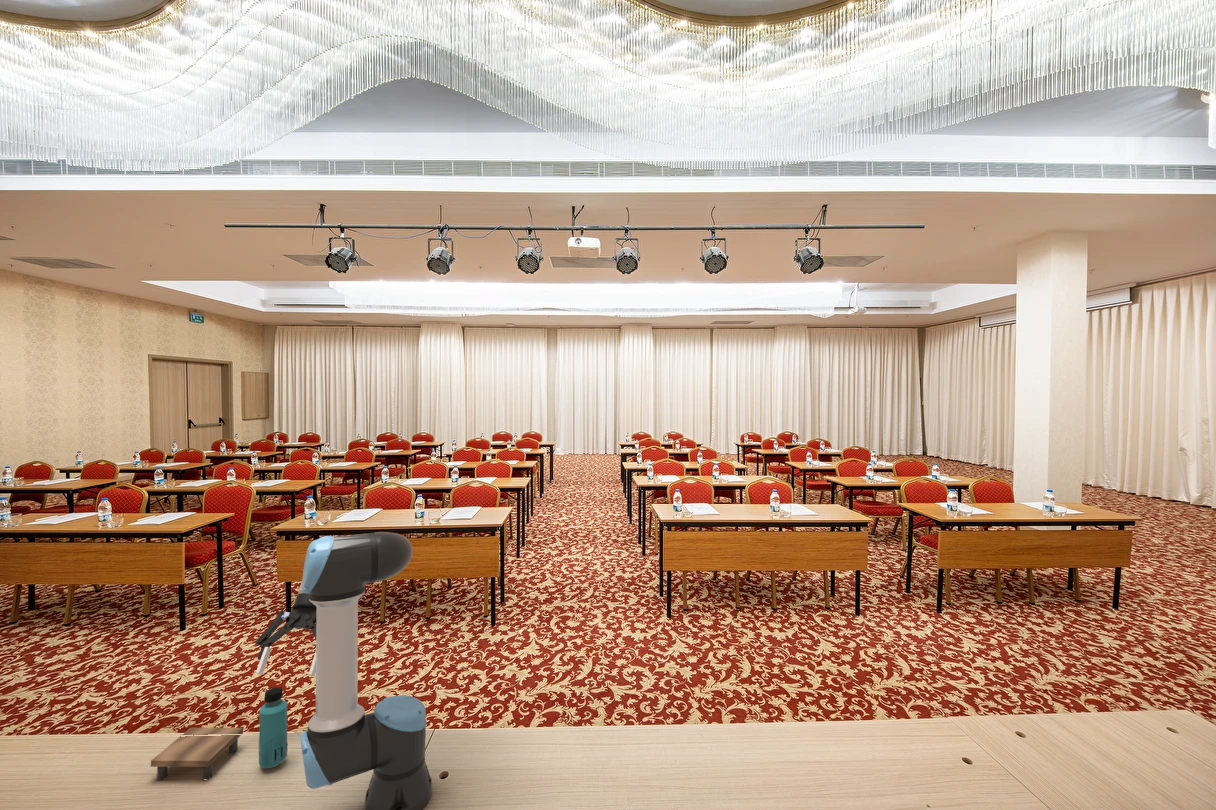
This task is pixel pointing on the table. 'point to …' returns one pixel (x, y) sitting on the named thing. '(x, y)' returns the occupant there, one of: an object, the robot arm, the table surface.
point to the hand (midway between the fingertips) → (285, 674)
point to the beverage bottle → (273, 729)
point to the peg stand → (197, 750)
